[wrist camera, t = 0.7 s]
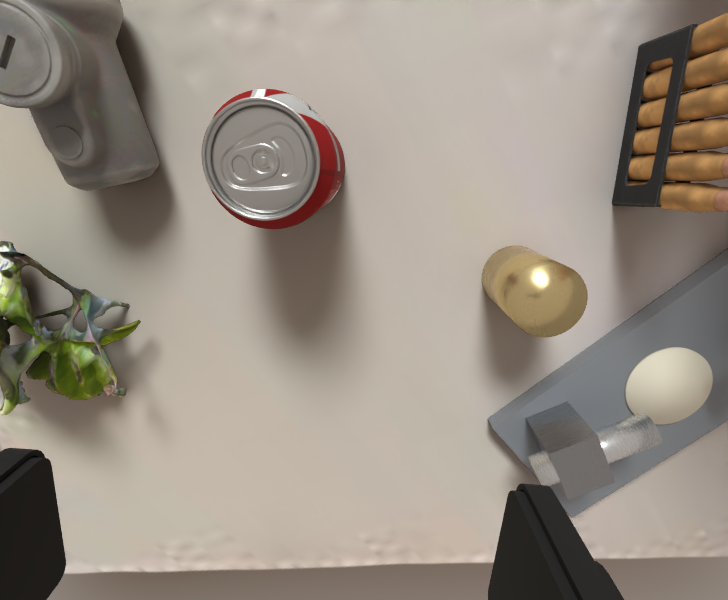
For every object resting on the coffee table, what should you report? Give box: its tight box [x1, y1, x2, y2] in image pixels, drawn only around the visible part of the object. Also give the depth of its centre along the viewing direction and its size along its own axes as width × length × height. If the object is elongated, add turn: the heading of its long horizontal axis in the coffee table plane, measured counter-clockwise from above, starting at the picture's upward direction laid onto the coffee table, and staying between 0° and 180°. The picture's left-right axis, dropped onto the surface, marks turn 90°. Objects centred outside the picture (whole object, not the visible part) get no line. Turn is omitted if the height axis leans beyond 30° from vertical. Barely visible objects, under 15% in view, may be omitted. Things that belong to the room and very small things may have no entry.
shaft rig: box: [488, 249, 728, 517], centre depth 33 cm, size 26×12×6 cm, turn 131°
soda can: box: [202, 89, 345, 229], centre depth 26 cm, size 7×7×12 cm
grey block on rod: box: [526, 401, 663, 500], centre depth 33 cm, size 9×4×5 cm, turn 116°
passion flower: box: [0, 241, 141, 415], centre depth 31 cm, size 13×12×14 cm
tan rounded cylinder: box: [482, 246, 587, 337], centre depth 30 cm, size 5×5×7 cm
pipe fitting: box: [0, 0, 159, 191], centre depth 26 cm, size 12×8×10 cm
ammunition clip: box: [612, 12, 728, 212], centre depth 25 cm, size 11×2×12 cm, turn 179°
